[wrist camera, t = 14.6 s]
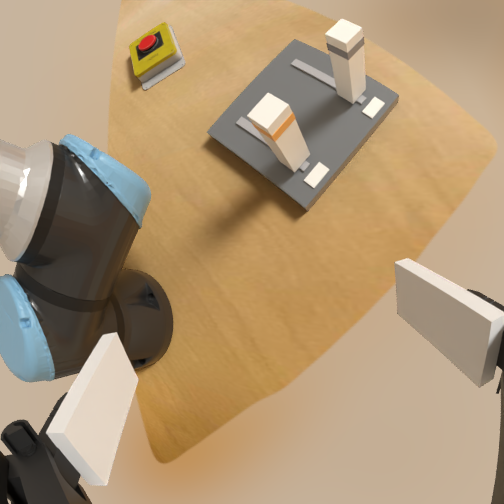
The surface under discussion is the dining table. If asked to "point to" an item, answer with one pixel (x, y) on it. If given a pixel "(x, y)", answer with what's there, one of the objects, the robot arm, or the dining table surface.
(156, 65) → the emergency button
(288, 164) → the block
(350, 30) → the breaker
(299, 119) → the panel
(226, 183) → the dining table surface
